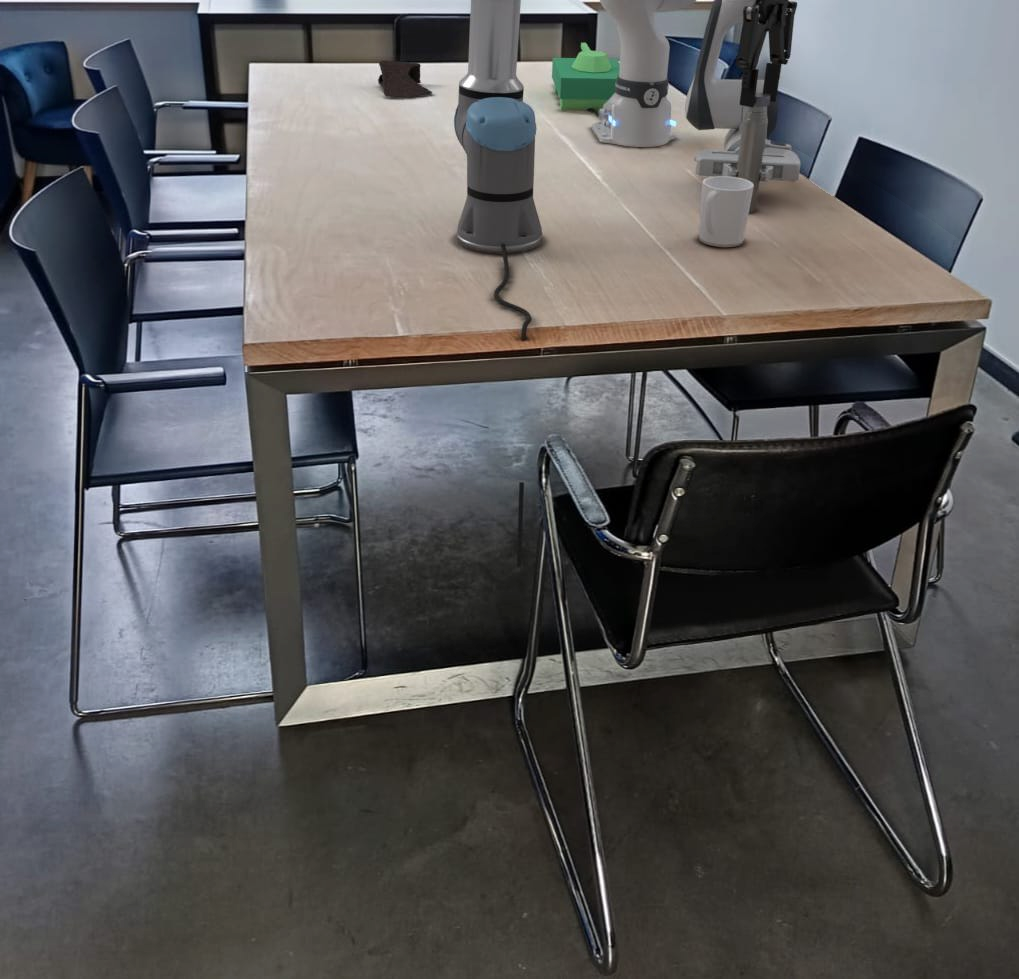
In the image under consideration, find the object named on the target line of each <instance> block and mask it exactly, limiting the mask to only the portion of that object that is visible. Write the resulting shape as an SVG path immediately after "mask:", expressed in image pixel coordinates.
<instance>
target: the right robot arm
mask: <svg viewBox="0 0 1019 979" xmlns="http://www.w3.org/2000/svg"><path fill="white" fill-rule="evenodd" d="M696 1H697V0H599V2H600V5H601V6H602V8H603V9H604V10H605V11H606V12H607V13H608V14H609V15H610V16H611V18H612V20H613V21H614V23H615V26H616V29H617V33H618V37H619V63H620V69H619V76H618V77H617V80H616V83H615V89H614V91H615V93H614V94H613V95H612V97H611V98H610V99H609V100H608V101H607V102H606V103H605V104H604V105H603V109H599V110H595V109H592V108H590V109H587V110H585V112H586V111H587V112H590V113H592V114H594V115H596V116H597V117H598V119H599V120H601V121H600V122H594V123H592V124H591V130H592V131H593V133H594V134H595V136H596V137H597V139H598V140H599V142H600V143H603V144H613V145H619V146H624V147H634V148H651V147H652V148H653V147H659V146H663V145H666V144H668V143H669V142H670V141H673V140H675V139H676V134H675V133H674V132H672V126H673V127H676V126H677V121H675V120H673V119H672V103H671V101H670V100H669V99H668V98H667V96H668V94H669V93H668V92H669V85H670V84H669V78H668V71H669V61H670V49H671V48H670V43H669V40H668V39H667V37H666V36H665V35H664V34H663V33H661V32H659V31H658V30H657V26H656V22H655V14H657V13H666V12H667V13H669V12H675V11H679V10H682V9H684V8H687V7H690V6H692V5H694V4H695V3H696ZM754 1H755V0H713V2H712V5H711V9H710V12H709V16H708V19H707V23H706V26H705V28H704V34H703V38H702V40H701V41H702V42H701V46H700V50H699V55H698V58H697V63H696V67H695V72H694V75H693V76H694V77H693V79H692V82H691V84H690V86H689V89H688V92H687V95H686V98H685V101H684V102H685V103H684V114H685V120H687V122H689V124H690V125H691V126H693V127H694V128H695V129H696V130H698V131H709V130H715V129H717V130H718V129H720V130H721V129H722V130H723V129H724V130H728V131H727V133H726V135H725V138H724V141H723V146H722V148H723V149H722V150H720V149H702V150H701V151H699V153H698V154H695V155H694V162H695V175H698V176H701V177H715V176H729V177H736V175H737V164H738V156H739V148H740V140H741V132H742V125H743V119H744V116H745V114H746V112H747V111H748V110H749V107H747V106H742V105H739V104H740V96H741V88H742V85H741V84H742V79H726V78H725V79H724V78H717V77H716V76H715V74H716V70H717V66H718V62H719V58H720V54H721V50H722V46H723V41H724V38H725V36H726V35H727V33H728V32H729V31H730V30H731V29H733V28H734V27H735V26H737V25H738V24H740V23H743V9H744V7H745V6H748V7H751V6H752V5H754ZM763 87H764V79H758V80H757V87H756V92H762V93H763ZM765 111H766V114H767V118H768V124H767V132H766V139H765V146H764V153H763V160H762V168H761V174H760V182H764V183H765V182H768V181H783V182H796V181H798V180H799V178H800V174H801V173H800V172H801V167H802V166H801V165H802V164H801V159H800V157H799V156H798V154H797V153H796V152H795V151H793V150H792V149H793V148H792V145H791V144H789V143H784V142H779V141H773V140H770V139H769V138H770V137H771V136H772V134H773V133H774V132H775V130H776V126H777V121H778V112H779V103H778V97H777V98H776V102H771V101H770V104H769V106H766V107H765Z"/></svg>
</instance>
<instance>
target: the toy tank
mask: <svg viewBox="0 0 1019 979" xmlns="http://www.w3.org/2000/svg"><path fill="white" fill-rule="evenodd" d="M580 49H581V51H580V52H578V54H577V56H576V57H552V62H551V63H552V65H551V66H552V67H551V79H552V81H553V84H554V92H555V93H556V94H557V95H558V99H559V107H560V110H561V111H586V110H587V109H590V108H592V109H595V110H597V111H599V109H603V105H604V104H605V103H606V102H607V101H608V100H609V99H610V98H611V97H612V95H613V94H614V93H615V91H614V89H615V83H616V80H617V77H618V76H619V69H620V61H618V59H617V58H609V57H608V54H607V53H605V52H603V51H601V50H600V51H598V50H591V48H590V47H589V45H588V44H587V42H581V43H580Z"/></svg>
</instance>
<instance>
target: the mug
mask: <svg viewBox="0 0 1019 979" xmlns="http://www.w3.org/2000/svg"><path fill="white" fill-rule="evenodd" d="M753 187H754V185H753V183H752V182H750V181H748V180H746V179H742V178H737V177H729V176H708V177H706V178H704V179H703V180H702V182H701V194H700V195H701V196H700V197H701V198H700V210H699V211H700V213H699V225H698V226H699V227H698V239H699V241H700V242H701V243H703V244H704V245H708V246H710V247H716V248H733V247H739V246H740V245H742V244H743V243H744V240H745V236H746V235H745V234H746V229H747V224H748V220H749V215H750V213H749V208H750V203H751V198H752V192H753Z"/></svg>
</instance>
